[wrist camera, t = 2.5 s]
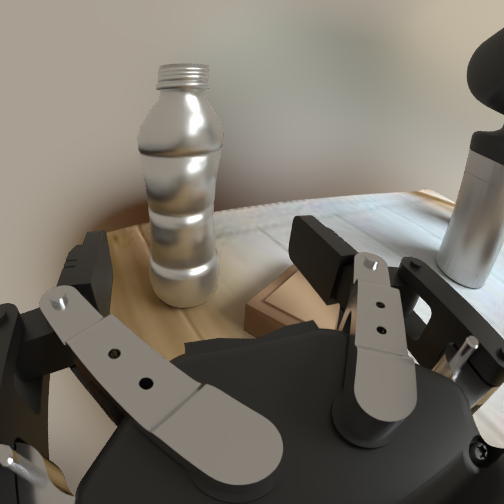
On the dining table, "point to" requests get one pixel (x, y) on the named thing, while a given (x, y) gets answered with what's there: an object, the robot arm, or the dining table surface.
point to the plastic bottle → (182, 185)
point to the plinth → (287, 305)
